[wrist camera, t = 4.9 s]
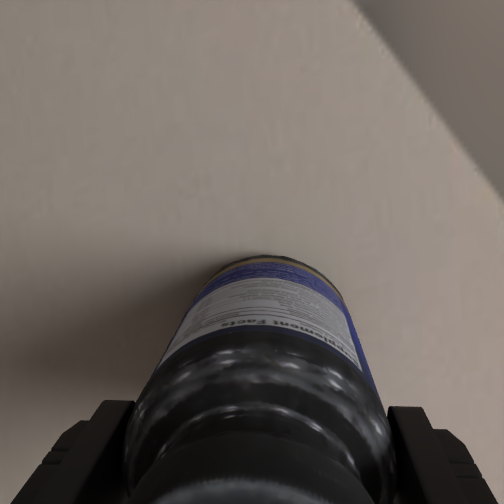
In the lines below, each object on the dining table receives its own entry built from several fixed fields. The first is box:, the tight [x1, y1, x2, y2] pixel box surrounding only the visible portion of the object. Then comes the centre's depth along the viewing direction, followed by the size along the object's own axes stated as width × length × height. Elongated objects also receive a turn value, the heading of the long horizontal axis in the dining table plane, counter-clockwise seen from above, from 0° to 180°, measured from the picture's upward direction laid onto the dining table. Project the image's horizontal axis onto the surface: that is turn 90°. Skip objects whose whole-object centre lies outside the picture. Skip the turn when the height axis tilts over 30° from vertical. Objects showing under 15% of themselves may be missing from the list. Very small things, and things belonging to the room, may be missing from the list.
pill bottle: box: [121, 255, 398, 504], centre depth 13 cm, size 6×6×11 cm
